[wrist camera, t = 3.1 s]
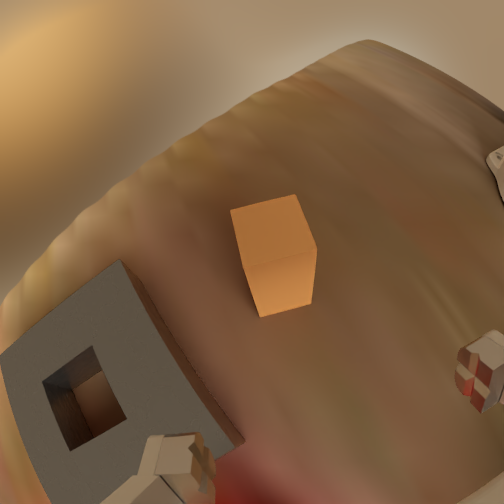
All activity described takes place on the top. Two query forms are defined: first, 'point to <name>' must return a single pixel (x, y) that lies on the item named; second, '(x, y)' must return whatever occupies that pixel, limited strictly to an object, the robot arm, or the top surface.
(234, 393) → the top surface
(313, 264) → the square block
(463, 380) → the robot arm
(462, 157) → the top surface
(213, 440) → the square hole plate
